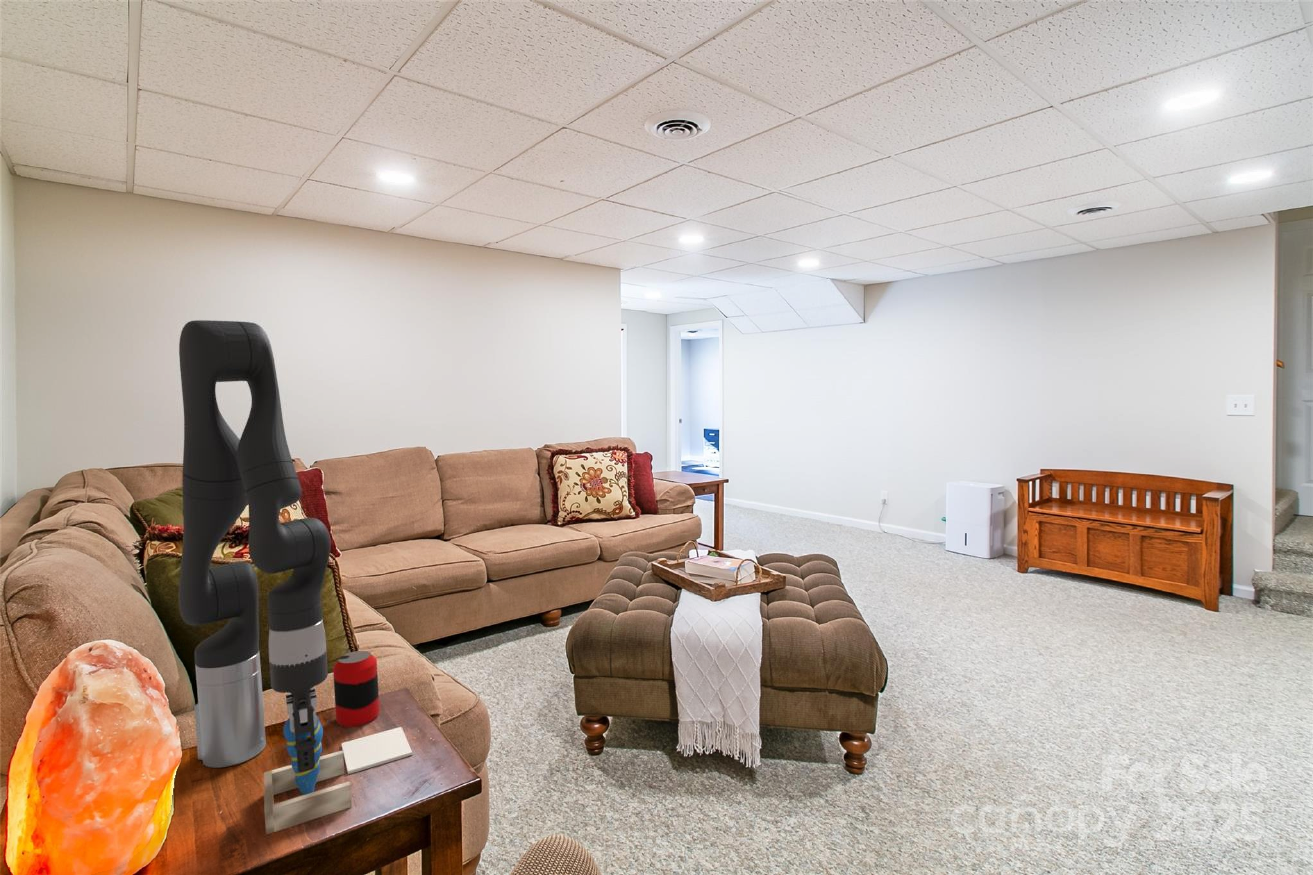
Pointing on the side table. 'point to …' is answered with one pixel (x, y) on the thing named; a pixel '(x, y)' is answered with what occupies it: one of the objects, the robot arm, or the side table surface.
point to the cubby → (307, 804)
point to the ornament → (303, 779)
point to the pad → (375, 750)
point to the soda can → (356, 689)
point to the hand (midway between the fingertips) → (305, 757)
